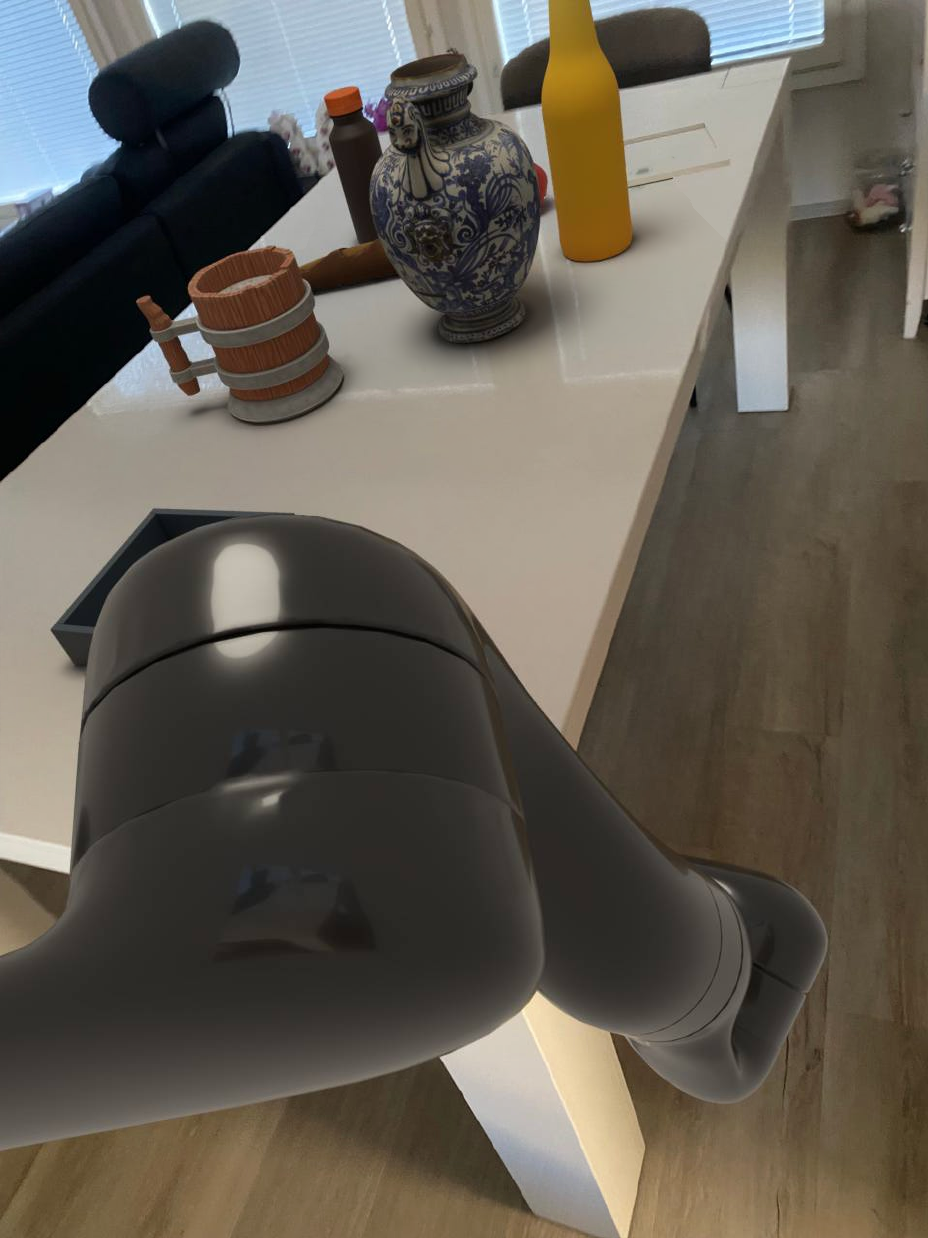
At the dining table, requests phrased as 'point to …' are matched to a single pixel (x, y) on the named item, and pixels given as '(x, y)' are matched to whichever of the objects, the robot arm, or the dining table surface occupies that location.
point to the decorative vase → (455, 200)
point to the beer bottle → (584, 138)
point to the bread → (348, 266)
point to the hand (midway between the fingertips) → (283, 711)
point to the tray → (151, 533)
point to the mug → (252, 336)
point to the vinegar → (354, 156)
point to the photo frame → (678, 172)
